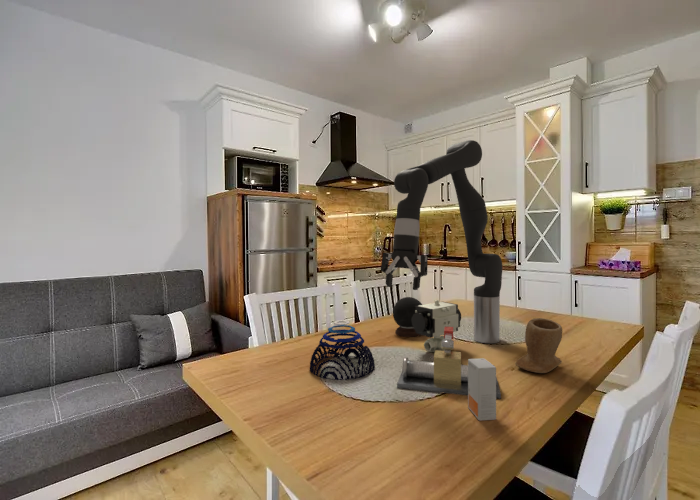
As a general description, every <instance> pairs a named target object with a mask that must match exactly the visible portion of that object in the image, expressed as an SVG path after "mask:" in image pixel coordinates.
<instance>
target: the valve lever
mask: <svg viewBox="0 0 700 500" xmlns="http://www.w3.org/2000/svg"><path fill="white" fill-rule="evenodd" d="M443 336H444V339H443V340H442V349H444V350H451V351H452V350H454V349H455V348H454V347H455V346H454V332H453V327H445V328H444V335H443Z"/></svg>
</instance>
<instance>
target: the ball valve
mask: <svg viewBox="0 0 700 500" xmlns="http://www.w3.org/2000/svg"><path fill="white" fill-rule="evenodd" d="M461 320H462V312H461V310H460V309H459V304H457V303H451V302H447V301H446V302H445V301H440V300H439V299H438V300H437V299H436V300H434V302H431V303H427V304H422V305H420V306H416V310H415V314H413V316H412V326H413V328H414V329H415V330H416V333H417V334H420V335H421V336H424V337H427V339H426V340H425V341H424V344H423V348H424V350H425V351H427V352H429V353H435V350H440V351H445V350H444V349H442V340H443V339H444V328H445V327H453V333H456V332H458V331H459V328H460V327H461Z"/></svg>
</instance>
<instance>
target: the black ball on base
mask: <svg viewBox="0 0 700 500" xmlns="http://www.w3.org/2000/svg"><path fill="white" fill-rule="evenodd" d="M420 305H423V303H421V301H419V299H417V298H415V297H411V296H406V297H402V298H400V299H399V300H398V301H396V303H395V304H394V305H393V309H392V318H393V320H394V322H395V324H396V325H398V327H397V328H396V329H395V333H394V334H395V335H396V336H399V337H404V338H413V337H414V338H417V337H421V336H422V335H420V334H417V333H416V330H415V329H414V328H413V326H412V316H413V314H415V310H416V306H420Z"/></svg>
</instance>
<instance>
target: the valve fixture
mask: <svg viewBox="0 0 700 500" xmlns="http://www.w3.org/2000/svg"><path fill="white" fill-rule="evenodd" d="M492 365H493V366H495V364H492ZM401 369H402V371H401V373H400V375H399V378H398V380H397V383H396V388H397V389H404V390H413V391H421V392H423V391H424V392H433V393H440V392H444V393H443V394H449V395H450V394H451V395H459V396H460V395H462V396H468V364H462V352H461V351H452V350H445V351H440V350H435V352H434V354H433V361H425V360H423V361H422V360H410V359H409V358H408V357H403V360H402V368H401ZM497 399H498V400H501V399H502V394H501V390H500V385H499V382H498V377H497V376H496V400H497Z"/></svg>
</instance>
